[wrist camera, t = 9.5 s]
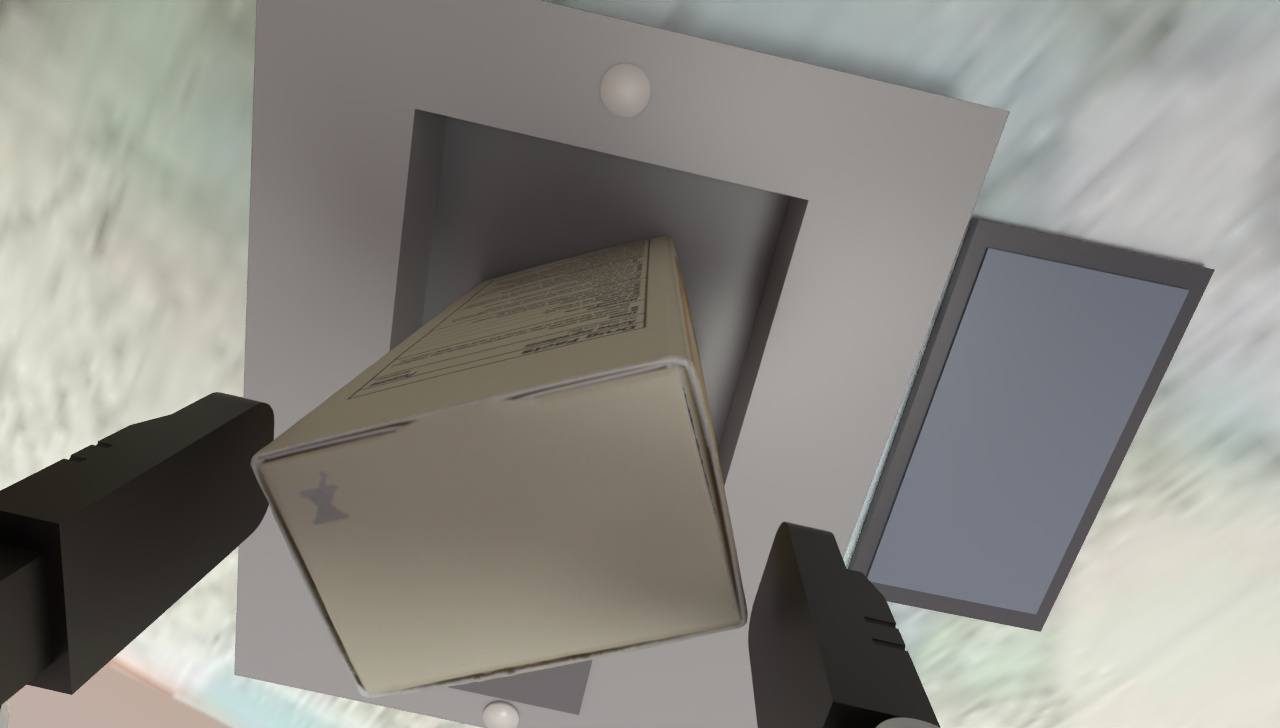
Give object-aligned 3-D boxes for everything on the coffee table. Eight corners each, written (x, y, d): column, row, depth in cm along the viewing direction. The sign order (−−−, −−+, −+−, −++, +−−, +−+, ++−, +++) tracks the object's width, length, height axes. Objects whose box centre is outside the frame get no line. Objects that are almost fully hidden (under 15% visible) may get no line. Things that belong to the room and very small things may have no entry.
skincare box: (517, 409, 22) (339, 715, 10) (474, 279, 21) (215, 460, 9) (713, 365, 21) (761, 643, 9) (682, 227, 20) (691, 354, 8)
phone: (1189, 263, 20) (1217, 270, 19) (1026, 612, 25) (1042, 633, 24) (964, 215, 20) (980, 220, 19) (838, 575, 24) (845, 594, 23)
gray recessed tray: (959, 115, 19) (1013, 111, 16) (748, 714, 26) (758, 790, 23) (322, -35, 18) (254, -69, 16) (283, 614, 26) (231, 678, 22)
